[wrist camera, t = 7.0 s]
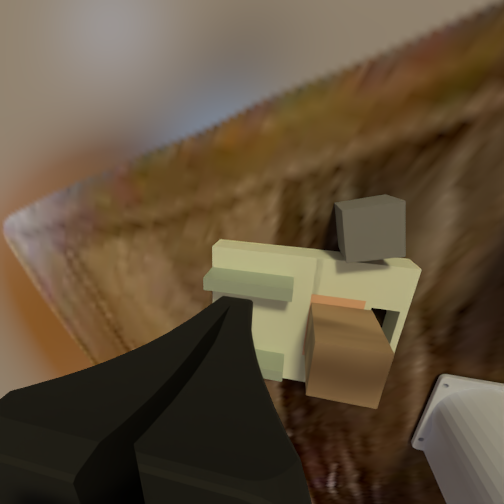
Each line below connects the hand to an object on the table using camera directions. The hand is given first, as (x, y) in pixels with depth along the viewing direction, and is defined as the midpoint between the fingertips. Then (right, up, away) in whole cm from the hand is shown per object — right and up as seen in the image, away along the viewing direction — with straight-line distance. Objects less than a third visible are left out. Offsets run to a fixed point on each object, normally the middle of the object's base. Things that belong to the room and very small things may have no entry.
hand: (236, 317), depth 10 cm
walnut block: (+7, -3, +9) cm, 12 cm away
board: (+5, -3, +11) cm, 13 cm away
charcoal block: (+9, +5, +8) cm, 13 cm away
